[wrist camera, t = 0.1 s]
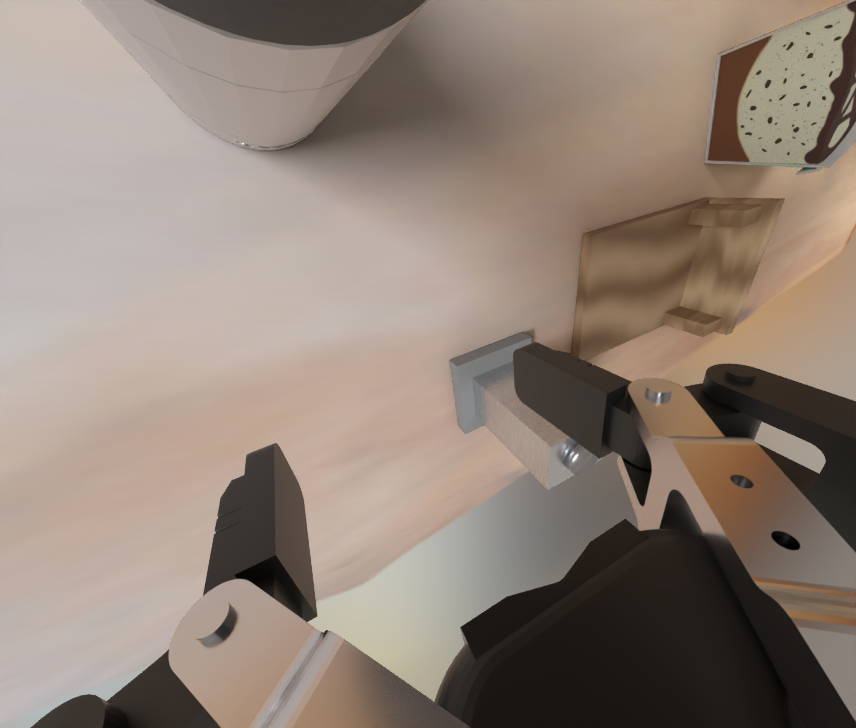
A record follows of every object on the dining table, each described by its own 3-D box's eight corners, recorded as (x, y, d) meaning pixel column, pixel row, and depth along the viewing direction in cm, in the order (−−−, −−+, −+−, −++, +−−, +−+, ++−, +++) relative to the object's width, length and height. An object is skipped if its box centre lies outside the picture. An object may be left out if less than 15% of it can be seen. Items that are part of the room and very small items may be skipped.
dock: (583, 233, 32) (653, 243, 27) (705, 197, 38) (784, 198, 32) (570, 359, 40) (622, 387, 35) (672, 314, 46) (732, 332, 40)
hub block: (471, 378, 32) (559, 454, 23) (520, 358, 34) (619, 421, 25) (475, 415, 35) (555, 497, 26) (520, 394, 37) (610, 465, 27)
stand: (449, 360, 32) (456, 366, 31) (522, 332, 35) (531, 336, 34) (458, 426, 37) (465, 434, 36) (522, 397, 39) (530, 403, 38)
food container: (739, 153, 37) (871, 143, 29) (702, 177, 36) (827, 173, 28) (765, 7, 30) (949, -59, 22) (720, 33, 29) (894, -28, 21)
